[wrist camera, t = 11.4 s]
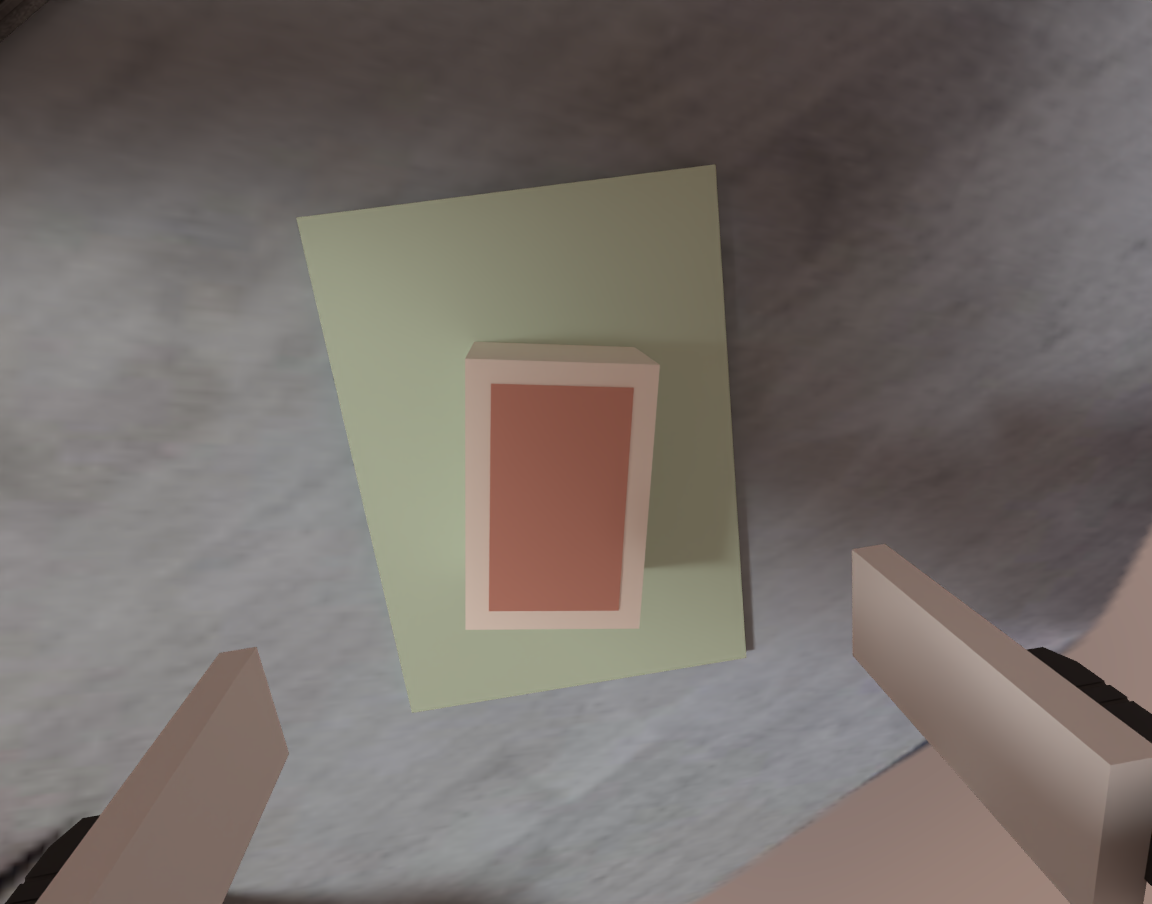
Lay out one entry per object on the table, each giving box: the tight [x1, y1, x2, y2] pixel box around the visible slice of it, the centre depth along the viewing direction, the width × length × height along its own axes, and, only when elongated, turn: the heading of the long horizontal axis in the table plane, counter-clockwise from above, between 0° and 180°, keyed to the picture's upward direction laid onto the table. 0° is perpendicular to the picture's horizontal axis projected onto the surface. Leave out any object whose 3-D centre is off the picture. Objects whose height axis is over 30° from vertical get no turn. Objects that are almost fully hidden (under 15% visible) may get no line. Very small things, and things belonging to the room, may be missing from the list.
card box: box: [465, 342, 660, 630], centre depth 26 cm, size 10×6×5 cm, turn 177°
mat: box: [296, 164, 746, 713], centre depth 28 cm, size 16×22×1 cm
